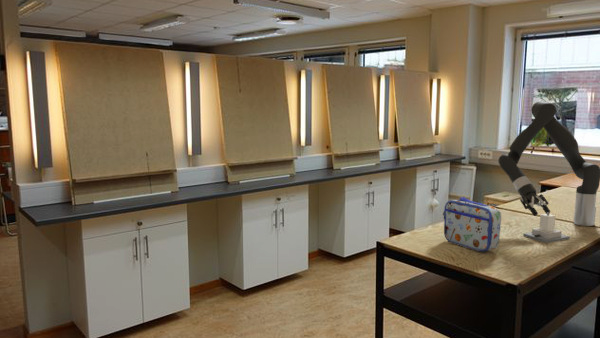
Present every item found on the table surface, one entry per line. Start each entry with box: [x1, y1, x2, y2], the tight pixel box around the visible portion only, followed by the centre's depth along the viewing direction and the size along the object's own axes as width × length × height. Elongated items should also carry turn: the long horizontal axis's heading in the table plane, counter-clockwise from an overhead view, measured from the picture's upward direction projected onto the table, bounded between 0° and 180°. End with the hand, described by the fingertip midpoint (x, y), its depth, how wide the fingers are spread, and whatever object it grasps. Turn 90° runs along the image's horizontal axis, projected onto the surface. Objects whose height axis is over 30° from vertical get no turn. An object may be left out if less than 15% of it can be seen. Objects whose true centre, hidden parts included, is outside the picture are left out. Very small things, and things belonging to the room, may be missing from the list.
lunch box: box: [442, 196, 502, 252], centre depth 211 cm, size 28×10×22 cm, turn 32°
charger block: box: [538, 212, 556, 233], centre depth 224 cm, size 5×5×11 cm
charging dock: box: [522, 227, 571, 244], centre depth 225 cm, size 16×13×4 cm
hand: (542, 214), depth 226 cm, fingers open, 8 cm apart
